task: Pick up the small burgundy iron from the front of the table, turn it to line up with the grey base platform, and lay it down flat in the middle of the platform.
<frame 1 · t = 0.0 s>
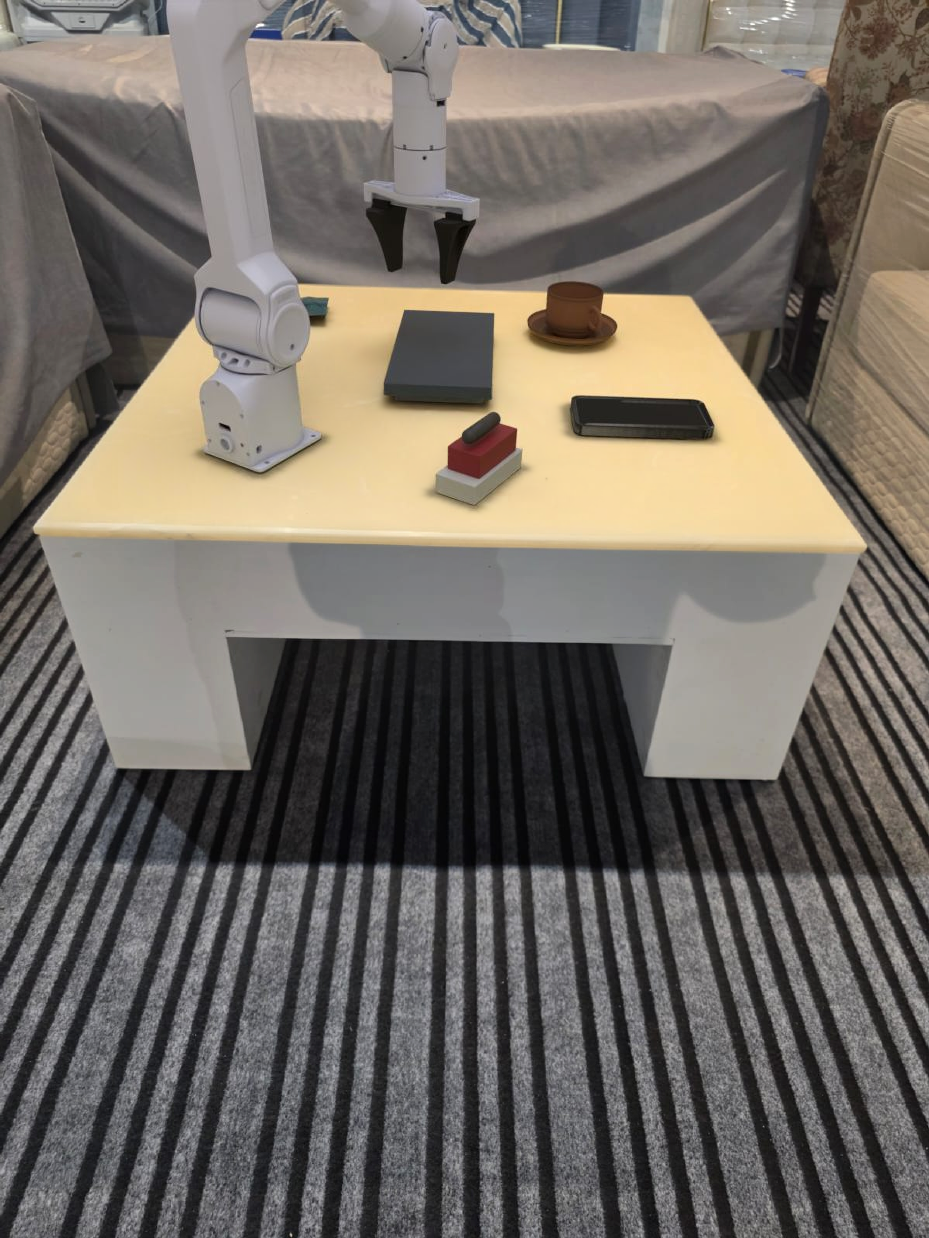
hand: (420, 276, 99), 10 cm above the table, tool pointing down, fingers open, 7 cm apart
grey base platform: (443, 368, 103), on the table
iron: (479, 479, 82), on the table
terrain model: (283, 319, 116), on the table
phone: (639, 422, 93), on the table
cup and saucer: (570, 338, 113), on the table
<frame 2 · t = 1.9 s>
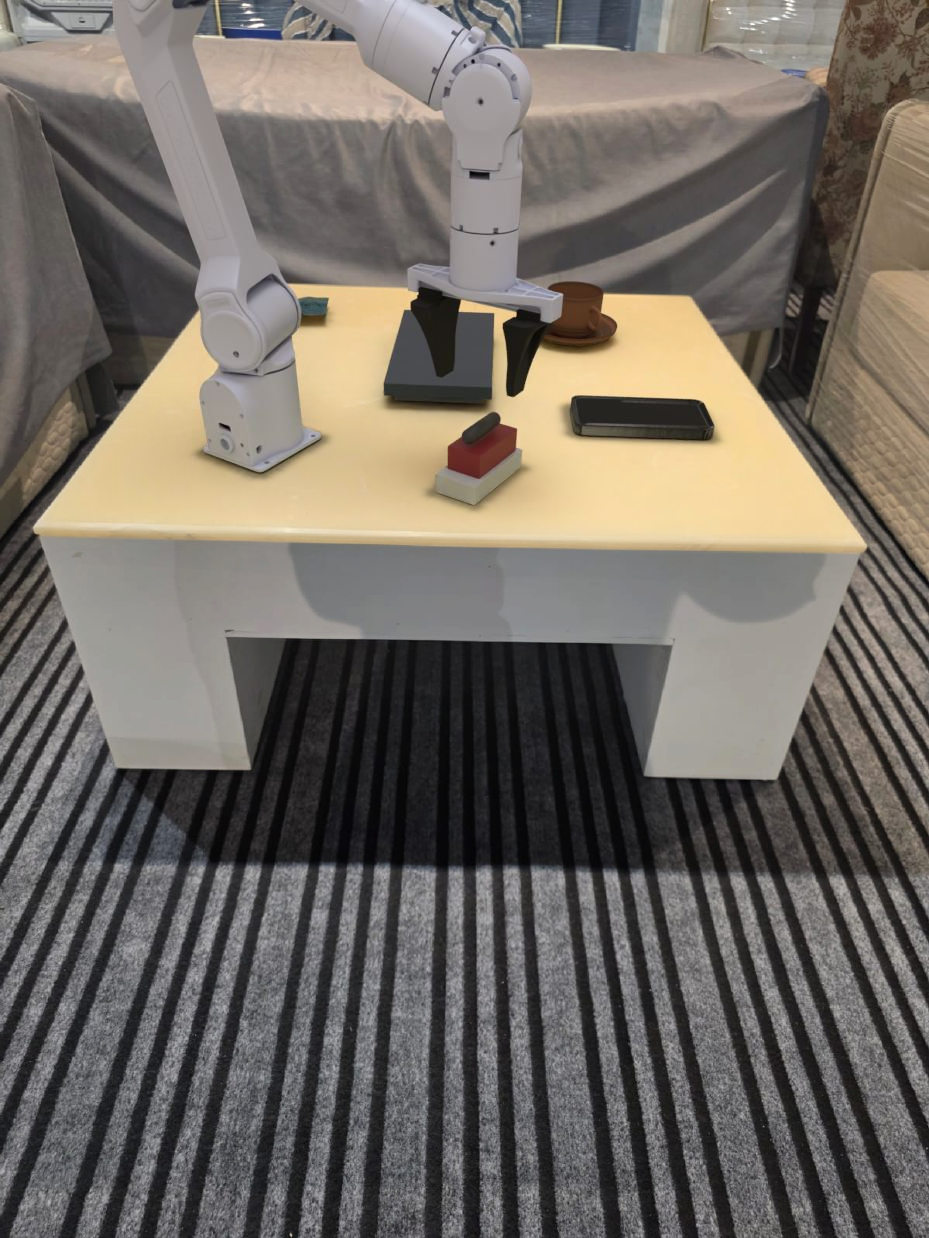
hand: (479, 383, 77), 9 cm above the table, tool pointing down, fingers open, 7 cm apart
nothing on the table moved.
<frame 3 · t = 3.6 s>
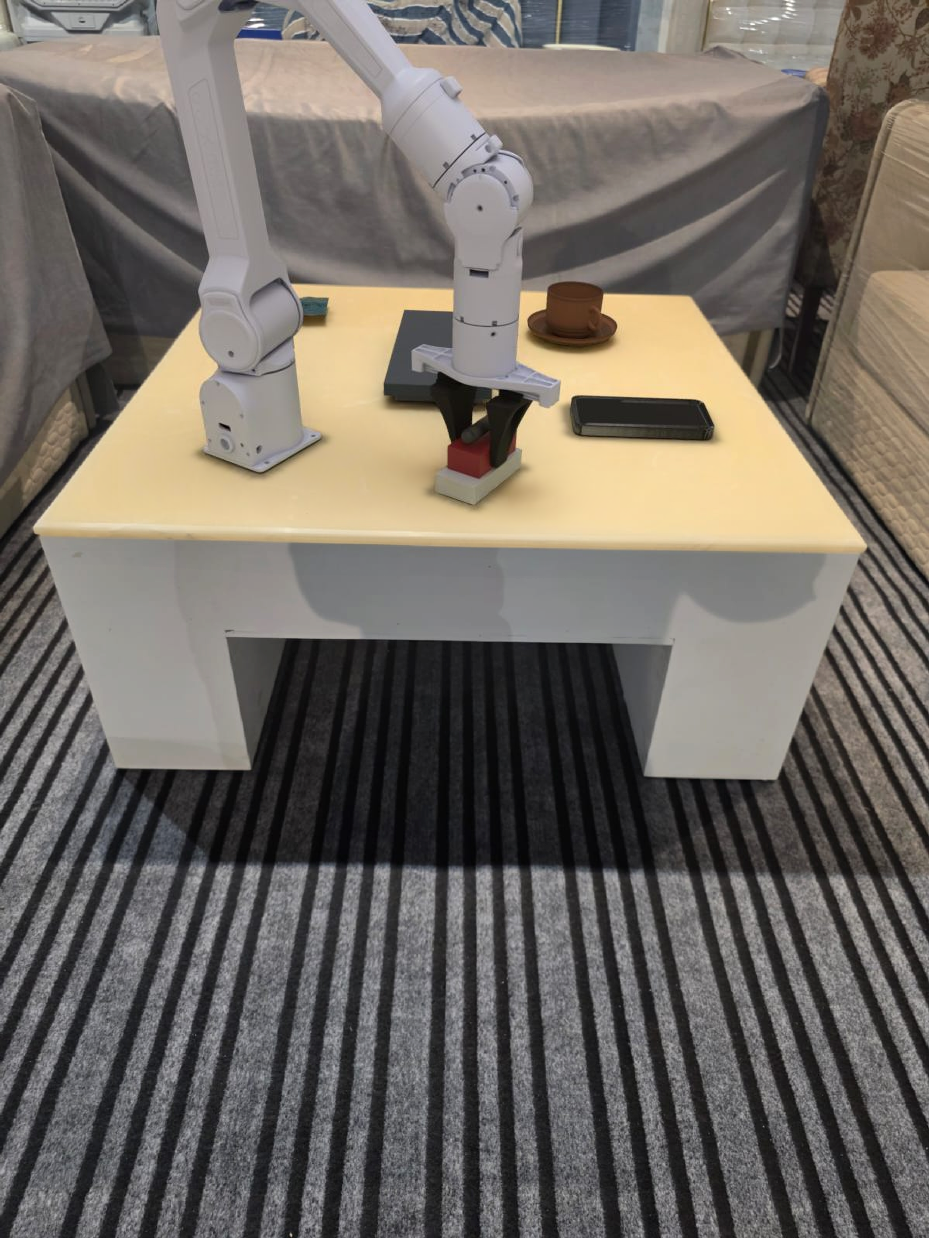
hand: (480, 457, 80), 2 cm above the table, tool pointing down, fingers closed on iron, 3 cm apart
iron: (479, 479, 82), on the table, touching gripper
everything else where it was.
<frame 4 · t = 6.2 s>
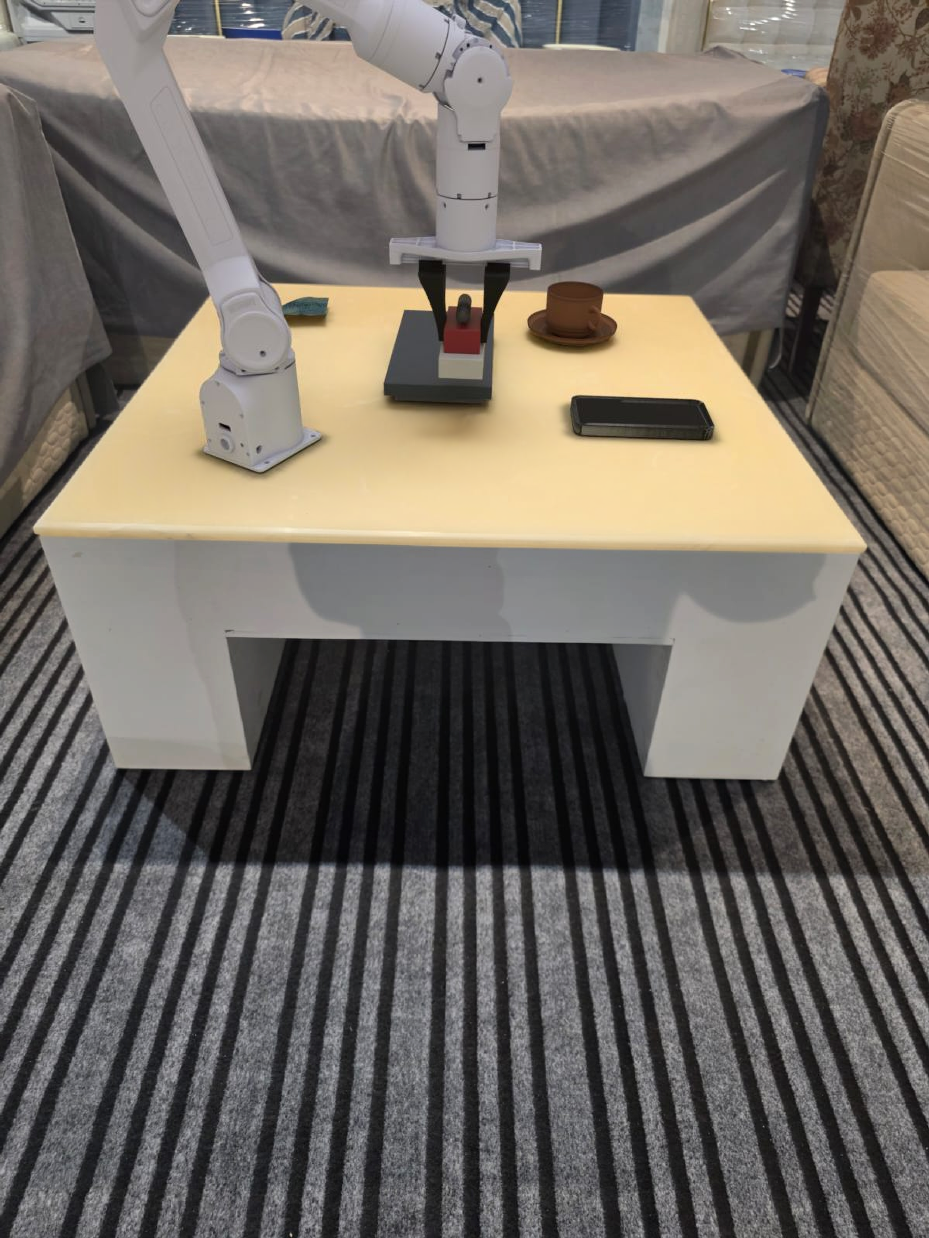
hand: (463, 338, 86), 9 cm above the table, tool pointing down, fingers closed on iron, 3 cm apart
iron: (462, 361, 87), point 7 cm above the table, touching gripper
everything else where it was.
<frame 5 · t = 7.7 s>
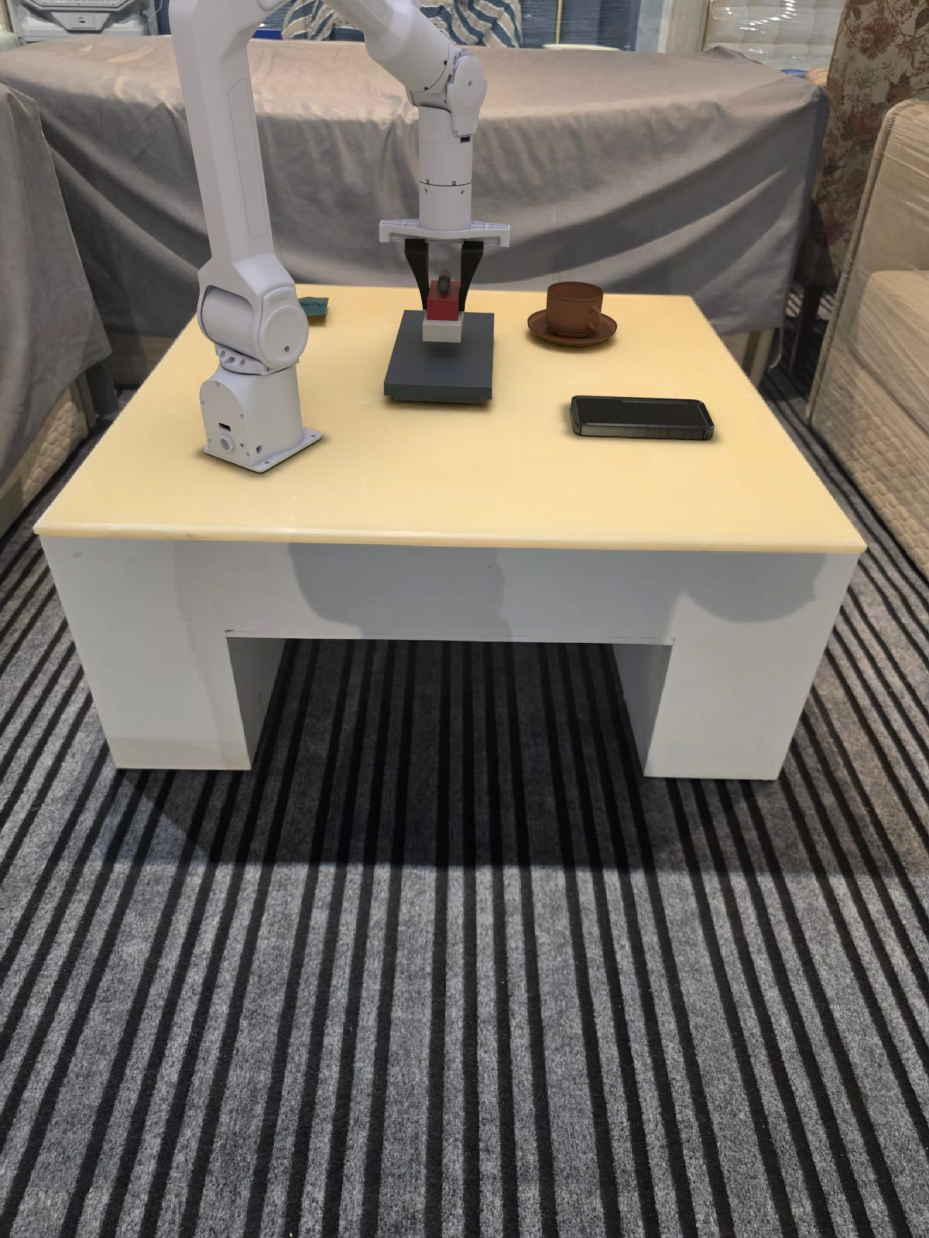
hand: (444, 308, 99), 7 cm above the table, tool pointing down, fingers closed on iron, 3 cm apart
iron: (443, 328, 100), point 5 cm above the table, touching gripper
everything else where it was.
when the fingers open (5 cm above the table, at t = 8.8 s): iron stays where it is, resting on grey base platform.
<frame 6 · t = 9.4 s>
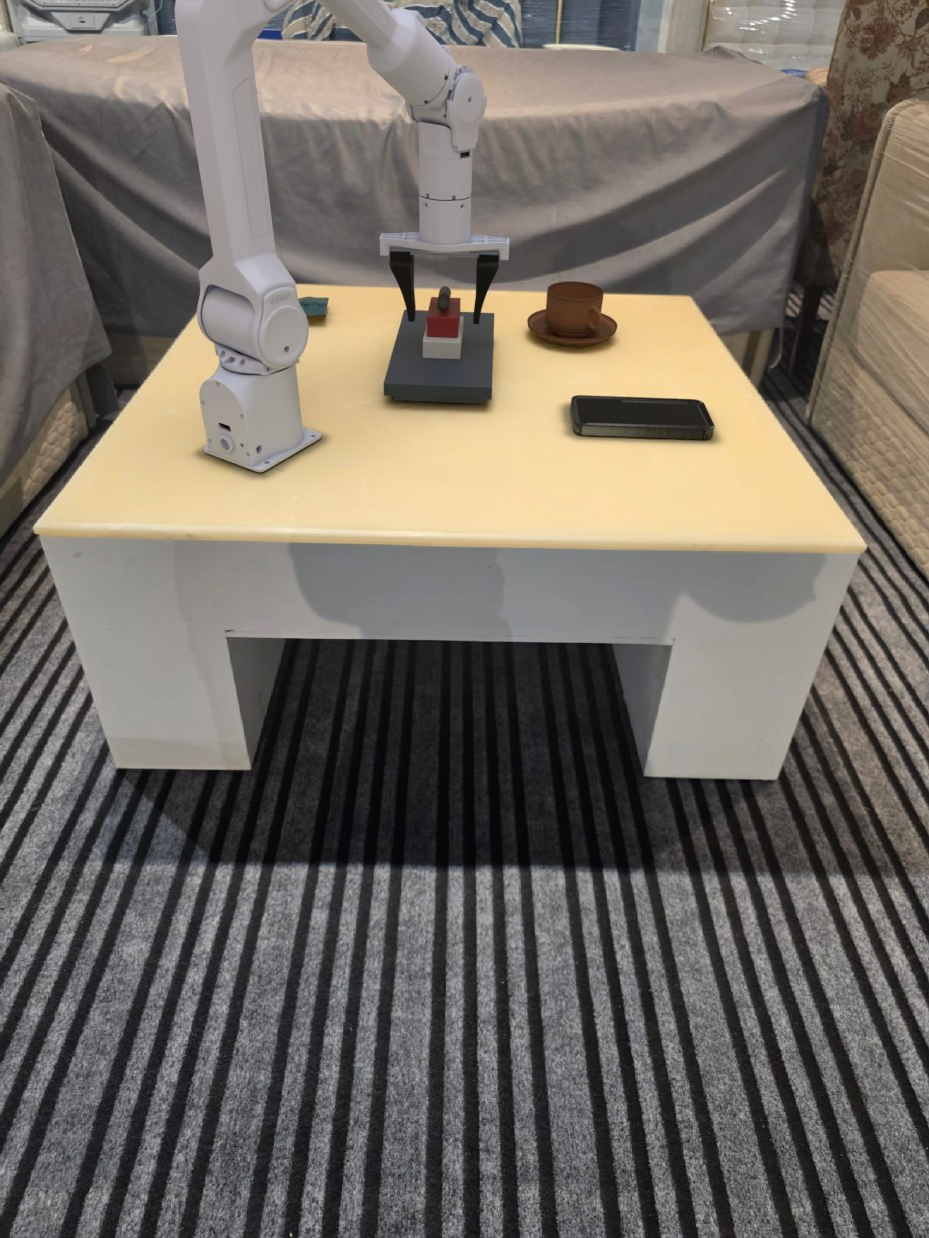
hand: (444, 320, 99), 6 cm above the table, tool pointing down, fingers open, 7 cm apart
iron: (443, 344, 101), point 3 cm above the table, touching grey base platform
everything else where it was.
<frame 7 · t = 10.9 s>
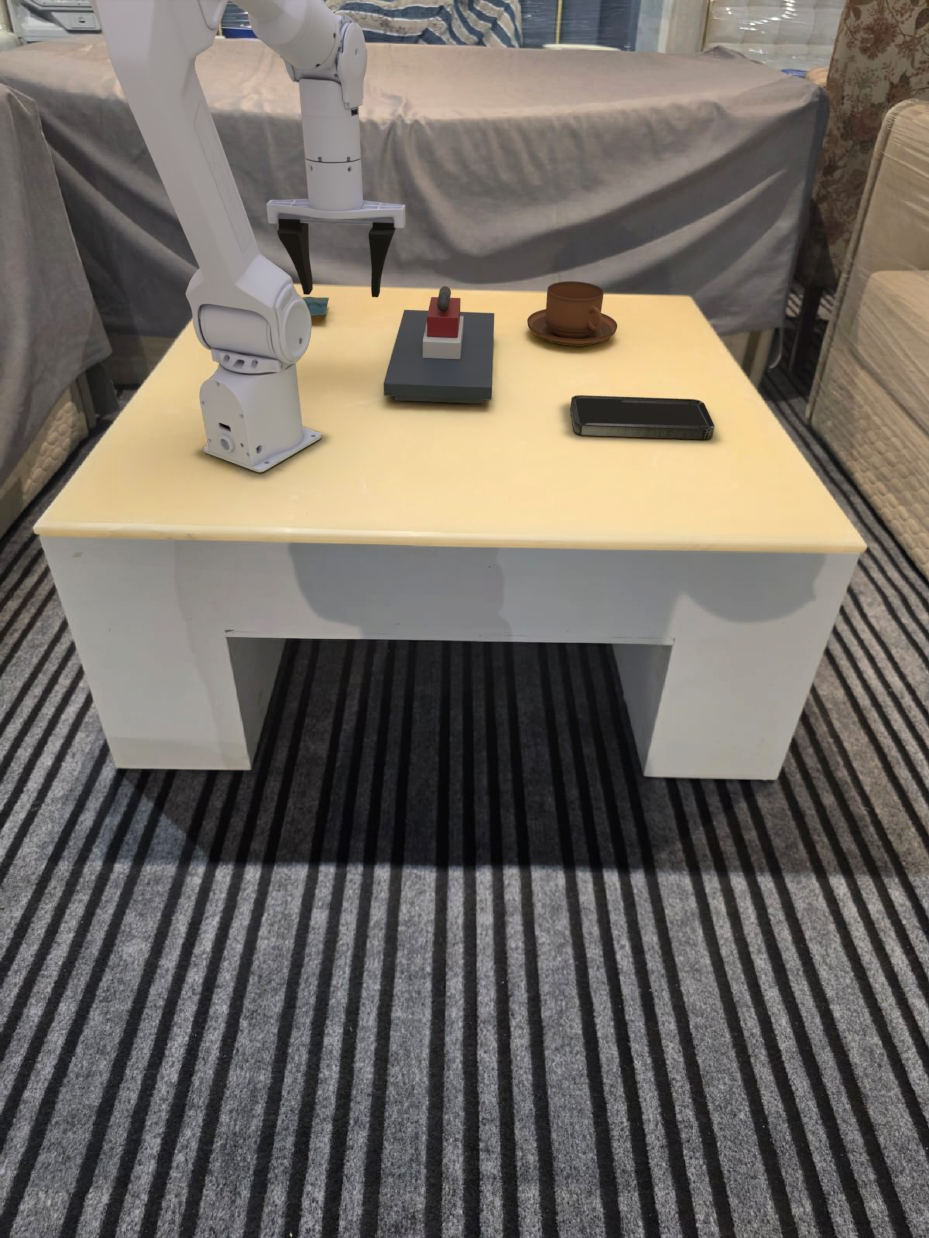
hand: (342, 293, 94), 10 cm above the table, tool pointing down, fingers open, 7 cm apart
nothing on the table moved.
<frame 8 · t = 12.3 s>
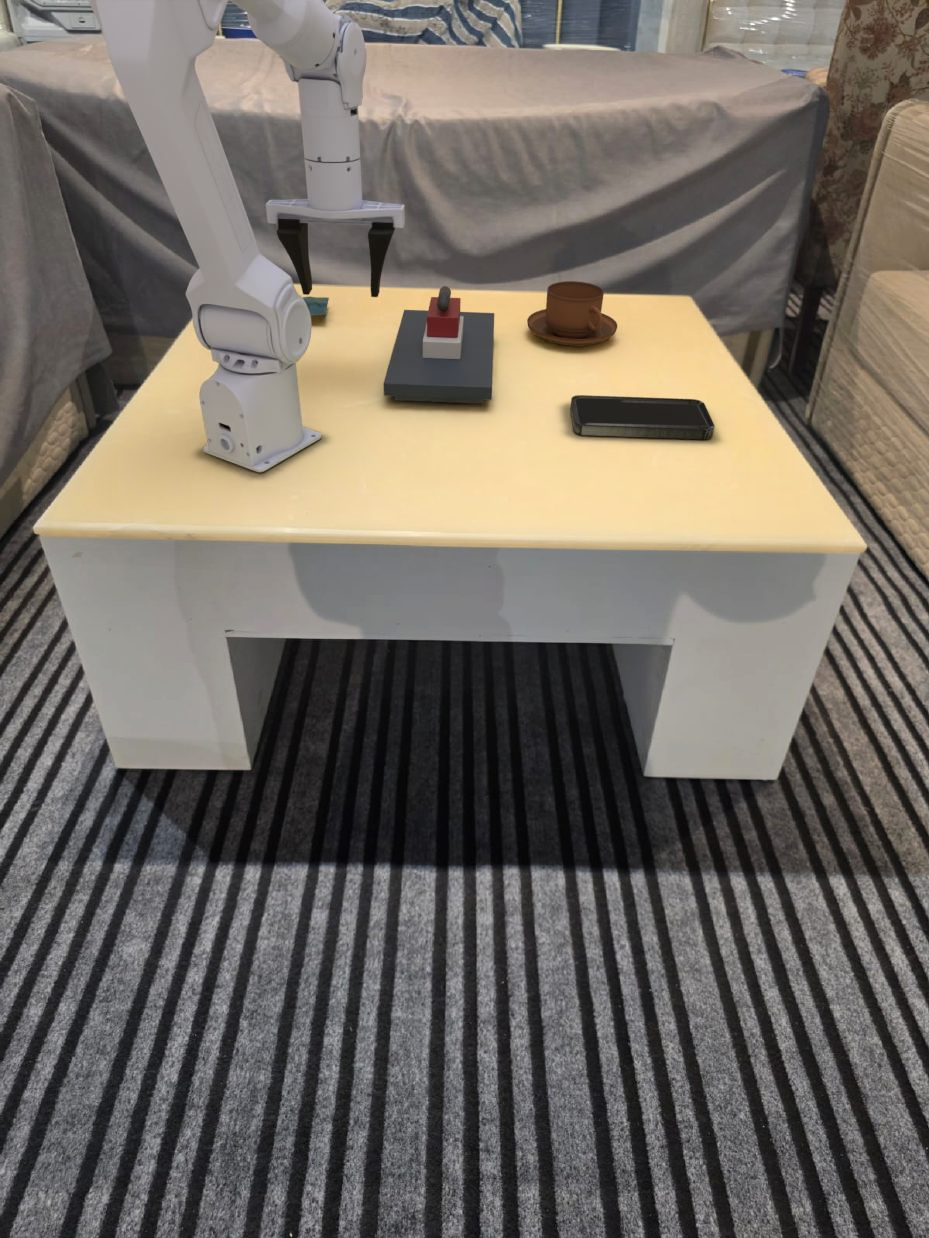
hand: (341, 293, 94), 10 cm above the table, tool pointing down, fingers open, 7 cm apart
nothing on the table moved.
at the end: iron inside the target area on the grey base platform (0.0 cm from its centre), point 3.0 cm above the grey base platform's base; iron tilted 0°; the gripper is holding nothing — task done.
